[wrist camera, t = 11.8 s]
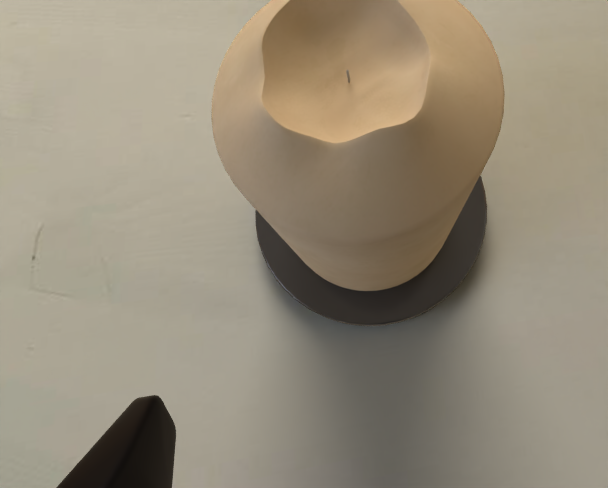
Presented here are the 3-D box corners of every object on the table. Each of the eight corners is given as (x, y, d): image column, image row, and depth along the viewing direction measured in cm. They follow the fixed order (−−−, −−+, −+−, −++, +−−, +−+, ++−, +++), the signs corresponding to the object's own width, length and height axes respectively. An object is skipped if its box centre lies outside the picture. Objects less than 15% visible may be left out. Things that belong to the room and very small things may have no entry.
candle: (484, 228, 17) (606, 73, 8) (349, 325, 17) (304, 292, 8) (383, 109, 19) (381, -149, 9) (259, 199, 19) (125, 37, 9)
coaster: (532, 232, 18) (539, 227, 17) (346, 373, 18) (345, 374, 17) (387, 71, 20) (386, 60, 19) (219, 198, 20) (213, 192, 19)
